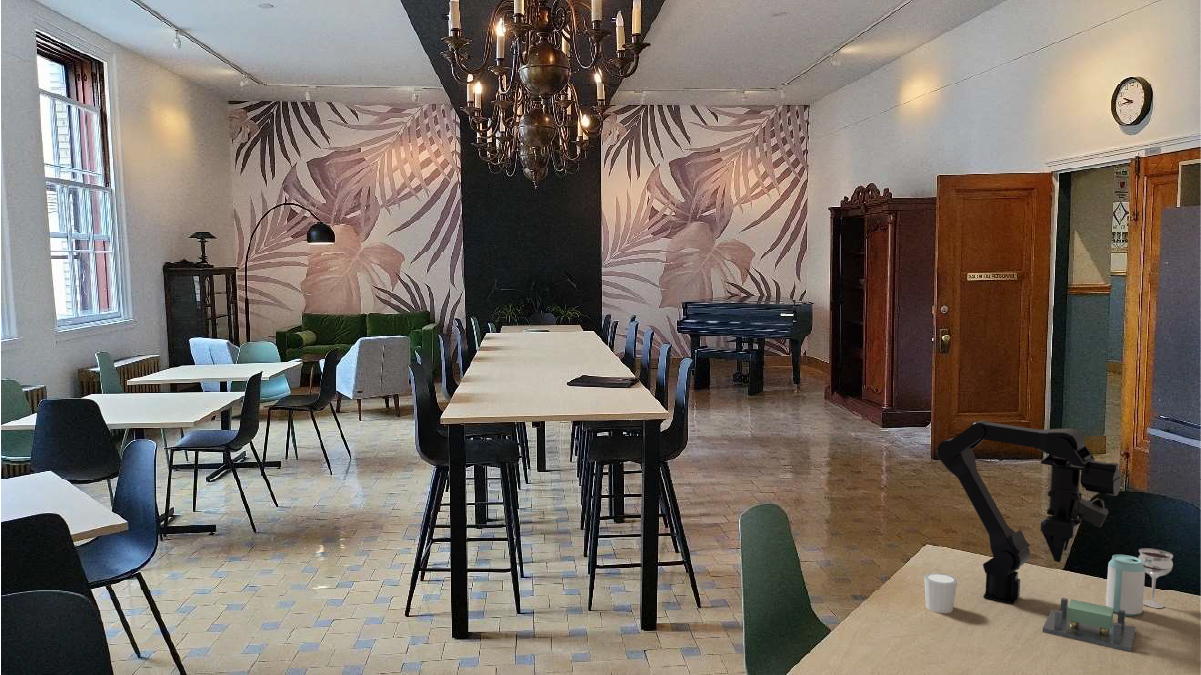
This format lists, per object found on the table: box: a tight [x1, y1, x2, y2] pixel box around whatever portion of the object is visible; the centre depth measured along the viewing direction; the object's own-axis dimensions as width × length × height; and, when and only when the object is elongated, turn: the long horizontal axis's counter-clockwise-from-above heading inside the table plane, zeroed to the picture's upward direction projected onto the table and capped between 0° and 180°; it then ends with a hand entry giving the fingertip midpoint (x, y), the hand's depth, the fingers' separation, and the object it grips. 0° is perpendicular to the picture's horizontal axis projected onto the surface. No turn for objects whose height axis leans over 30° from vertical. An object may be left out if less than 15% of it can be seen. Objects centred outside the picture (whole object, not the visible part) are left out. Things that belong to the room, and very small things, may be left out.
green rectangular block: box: [1067, 598, 1115, 630], centre depth 185 cm, size 8×6×3 cm
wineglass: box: [1137, 548, 1174, 608], centre depth 199 cm, size 7×7×12 cm
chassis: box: [1042, 597, 1137, 652], centre depth 185 cm, size 16×12×4 cm
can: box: [1105, 554, 1146, 617], centre depth 196 cm, size 7×7×12 cm
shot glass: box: [923, 572, 958, 614], centre depth 197 cm, size 7×7×7 cm
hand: (1060, 555), depth 194 cm, fingers open, 9 cm apart
